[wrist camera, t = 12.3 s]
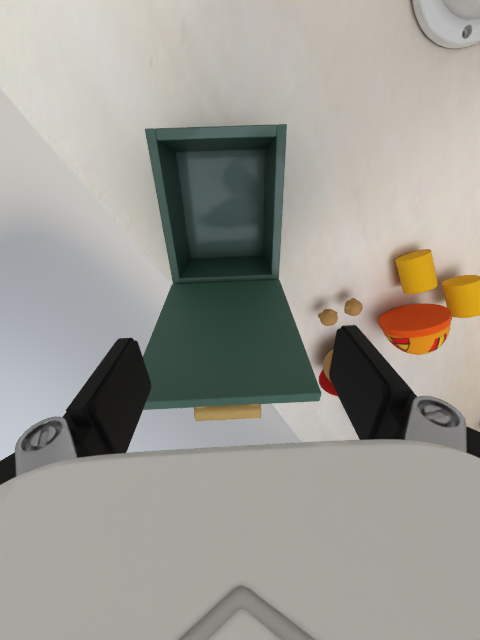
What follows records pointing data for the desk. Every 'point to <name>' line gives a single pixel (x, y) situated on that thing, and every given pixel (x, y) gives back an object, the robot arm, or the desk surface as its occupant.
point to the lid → (227, 351)
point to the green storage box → (220, 200)
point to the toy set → (415, 310)
